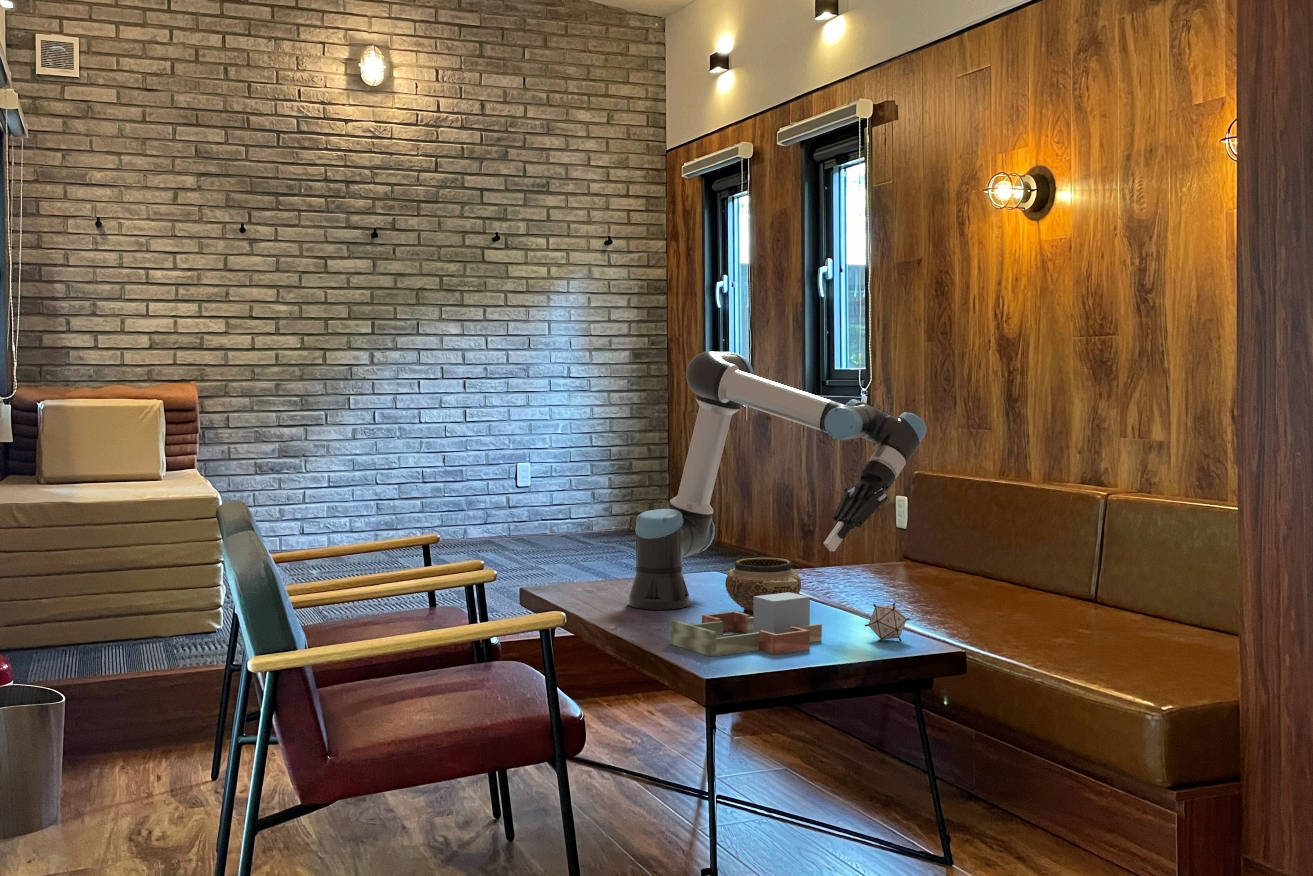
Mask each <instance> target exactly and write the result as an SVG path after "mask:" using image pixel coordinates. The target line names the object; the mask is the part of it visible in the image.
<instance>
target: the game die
mask: <svg viewBox="0 0 1313 876" xmlns="http://www.w3.org/2000/svg"><path fill="white" fill-rule="evenodd" d="M872 605H873V607H874V609H873V612H872V613H871V617H870V618H869V621H868V623H866V624H865V625H863V626H864V627H869V628H870V629H871V630H872V631H873V632H874V634H876V636H877V637H878V638H879V643H882V642H883V640H890V639H891V640H892V639H893V640H894V639H898V640H899V641H900V642H901V641H902V638H901V635H902V632H903V630H904V628H905V625H906V623H907V621H910V620H911V618H910V617H906V616H904V615H903V614H902V612H901V611H899V609H898V608H897V607H896V606H895V605H896V602H895V601H894V602H893V603H892V605H891V604H890V605H879V606H877V604H876V603H872Z"/></svg>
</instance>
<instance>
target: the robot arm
mask: <svg viewBox="0 0 1313 876" xmlns="http://www.w3.org/2000/svg"><path fill="white" fill-rule="evenodd" d="M754 373H755V372H754V369H753V367H752V365H751V363H750V361H749V360H748V358H746V357H744V356H743V355H741V354H738V353H735V352H733V351H712V350H711V351H710V350H708V351H703V352H700V353H698V354H696V355H695V356H694V357H693V358H692V359H691V360H690V361H689V363H688V364H687V368H686V371H685V378H686V383H687V385H688V387H689V389H690V390H691V391H692V392H693V393H694V394H695V400H696V403H697V404H698V406H699V408H698V412H697V416H696V420H695V424H694V427H693V431H692V435H691V436H692V437H691V440H690V443H689V448H688V452H687V455H686V458H685V459H686V460H685V463H684V467H683V472H682V474H681V475H682V476H681V480H680V484H679V488H678V493H677V495H676V496H674V497H672V498H670V500H669V504H668V507H667V508H657V509H651V510H646V511H643V512H641V513H640V514H638V515H637V517H636V519H635V528H634V530H635V576H634V579H633V582H632V586H631V588H630V592H629V596H628V605H629V606H630V607H632V608H634V609H635V608H636V609H641V610H650V611H651V610H655V611H658V610H659V611H661V610H662V611H663V610H666V611H667V610H677V609H683V608H686V607H688V606H690V594H689V590H688V588H687V584H686V582H685V579H684V576H683V575H684V574H683V558H687V557H693V556H697V555H698V554H700V553H702V552H704V551H705V550H707V549H708V548H709V547H710V546H711V544H712V543H713V540H714V538H715V532H716V527H715V523H714V521H713V516H714V512H715V511H714V508H713V507H712V506H711V504H710V503H711V499H712V496H713V492H714V488H715V485H716V484H715V483H716V480H717V476H718V472H719V469H720V465H721V460H722V456H723V452H724V448H725V445H726V441H727V436H728V432H729V429H730V424H731V420H732V417H733V415H734V414H735V413H737V412H739V411H740V410H741V405H742V406H745V407H748V408H750V409H751V408H752V409H755V410H757V411H761V412H763V413H766V414H769V415H771V416H776V417H777V418H778V417H779V418H781V419H784V420H788V421H790V422H793V423H797V424H799V425H803V426H805V427H808V428H811V429H815V430H818V431H821V432H823V433H826V434H828V436H830V437H831V438H833V439H835V440H840V441H850V440H853V439H854V440H855V439H865V440H868V441H870V442H871V443H874V444H876V445H878V447H877V448H876V450H875V451H874V452H873V454H871V456H870V457H869V461H867V462H866V464H864V467H863V468H862V470H860V471H861V472H860V479H859V481H858V482H857V483H855V484H854V487H852V488H849V487H845V488H844V489H843V495H842V496H841V499H840V501H839V503H838V505H837V508H836V509H835V512H834V513H833V516H832V519H833V521H835V524H834V526H833V527H832V529H831V530H830V532H829V535H828V536H827V537H826V539H825V540H824V541H823V545H824V546H825V547H826V548H827V550H828V552H835V551H836V550H837V548H838V547H839V546H840V544H841V543H842V542H843V540H844V539H845V538H846V537H847V535H848V534H849V532H850V531H851V530H853V529H854V528H855V527H856V528H857V529H859V528H860V527H861V526H862V525H863V524H864V523H865V522H866V521H867V520H868V519H869V517H871V515H873V513H874V512H875V511H876V510H877V509H878V508H879V507H880V506H881V505H882V504H883V503H885V502H886V501H887V500H888V499H889V497H888V496H887V494H886V492H888V491H889V490H890V488H891V487H892V486H893V484H894V482H895V481H896V479H897V478H898V476H899V475H900V473H901V472H902V470H903V469H904V467H905V466H906V465H907V463H908V461H909V460H910V459H911V458H912V456H913V454H914V453H915V451H916V450H917V449H918V447H919V446H921V442H922V441H923V440H924V437H925V436H926V434H927V432H928V428H927V424H926V423H925V421H924V420H923V419H922V418H921V417H920V416H918V414H917V415H916V414H914V413H913V412H907V411H906V412H902V413H901V414H900V415H899V416H898V417H896V416H894V415H889V414H888V413H886V412H884V411H881V410H879V409H878V408H876V407H874V406H871V405H869V404H868V403H867V402H863V401H860V400H858V399H856V398H855V399H850V400H849V401H847V402H846V404H843V403H841V402H838V401H833V400H832V399H828V398H824V397H821V396H819V395H817V394H816V395H815V394H812V393H810V392H807V391H803V390H800V389H797V388H794V387H791V386H789V385H788V386H787V385H786V384H785V385H784V384H782V383H779V382H777V381H773V380H769V379H766V378H764V377H760V376H757V375H755V374H754Z"/></svg>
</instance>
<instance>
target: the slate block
mask: <svg viewBox="0 0 1313 876" xmlns="http://www.w3.org/2000/svg"><path fill="white" fill-rule="evenodd" d="M810 599H811V597H810V596H807V595H803V594H800V593H799V594H795V593H790V592H787V593H779V594H770V595H762V596H754V600H753V633H755V632H759V631H761V630H764V631H767V632H771V633H775V634H780V633H786V628H789V627H790V626H794V627H799V626H806V625H811V624H810V618H811V617H810V616H811V615H810V614H811V612H810V611H811V610H810V608H811V604H810V602H811V600H810Z"/></svg>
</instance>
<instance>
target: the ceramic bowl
mask: <svg viewBox="0 0 1313 876" xmlns="http://www.w3.org/2000/svg"><path fill="white" fill-rule="evenodd" d="M734 565H735V567H734V568H731V569H730V570H729V571H728V572H727V576H726V578H725V583H724V584H725V589H726V592H727V594H728V596H729V597H730V599H732V601H733V602H734V603H735V604H736V605H738V606H739V607H741V608H742V609H743V613H744V614H748V615H749V617H753V600H754V596H762V595H770V594H779V593H787V592H790V593H795V594H799V595H800V592H801V588H802V580H801V578H800V575H799V574H798V573H797V571H795V570H794V569H793V568H792V561H791V560H790V559H787V558H781V557H780V558H779V557H770V556H769V557H768V556H767V557H766V556H765V557H764V556H763V557H762V556H761V557H759V556H758V557H746V558H741V559H740V558H739V559H737V560H736V561H735V562H734Z"/></svg>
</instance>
